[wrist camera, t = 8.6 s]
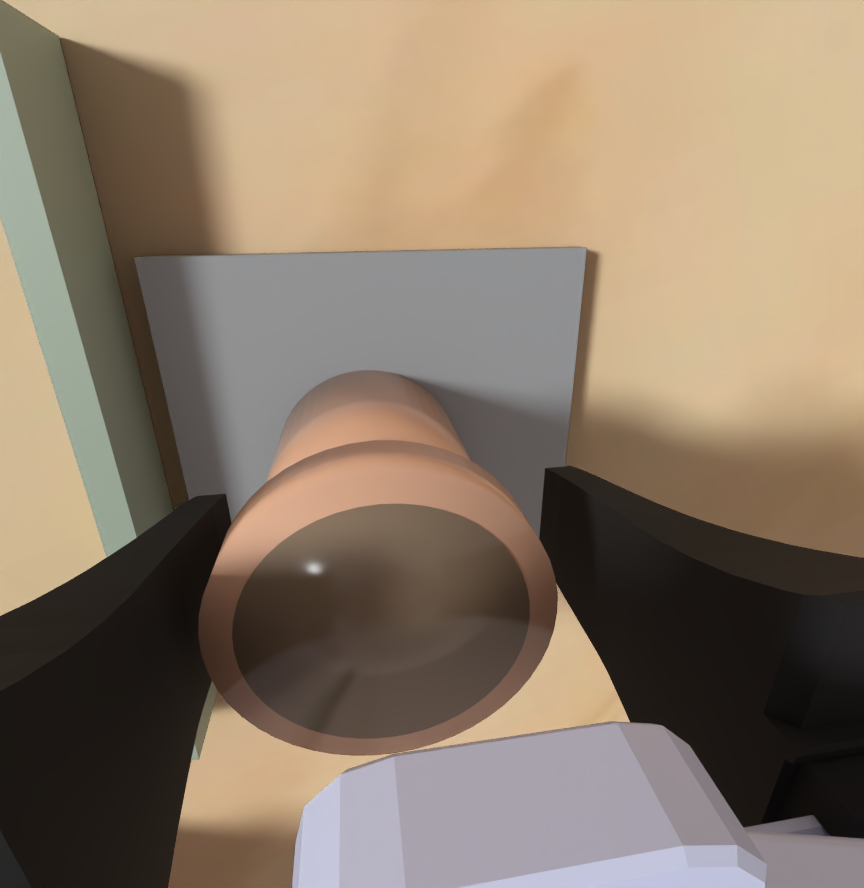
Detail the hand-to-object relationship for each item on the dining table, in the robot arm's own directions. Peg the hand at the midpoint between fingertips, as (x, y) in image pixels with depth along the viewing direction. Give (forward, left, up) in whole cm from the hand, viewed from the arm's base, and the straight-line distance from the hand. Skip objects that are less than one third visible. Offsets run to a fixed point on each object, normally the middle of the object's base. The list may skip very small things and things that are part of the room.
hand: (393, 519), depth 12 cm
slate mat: (0, 0, -4) cm, 4 cm away
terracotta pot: (0, 0, -3) cm, 3 cm away
